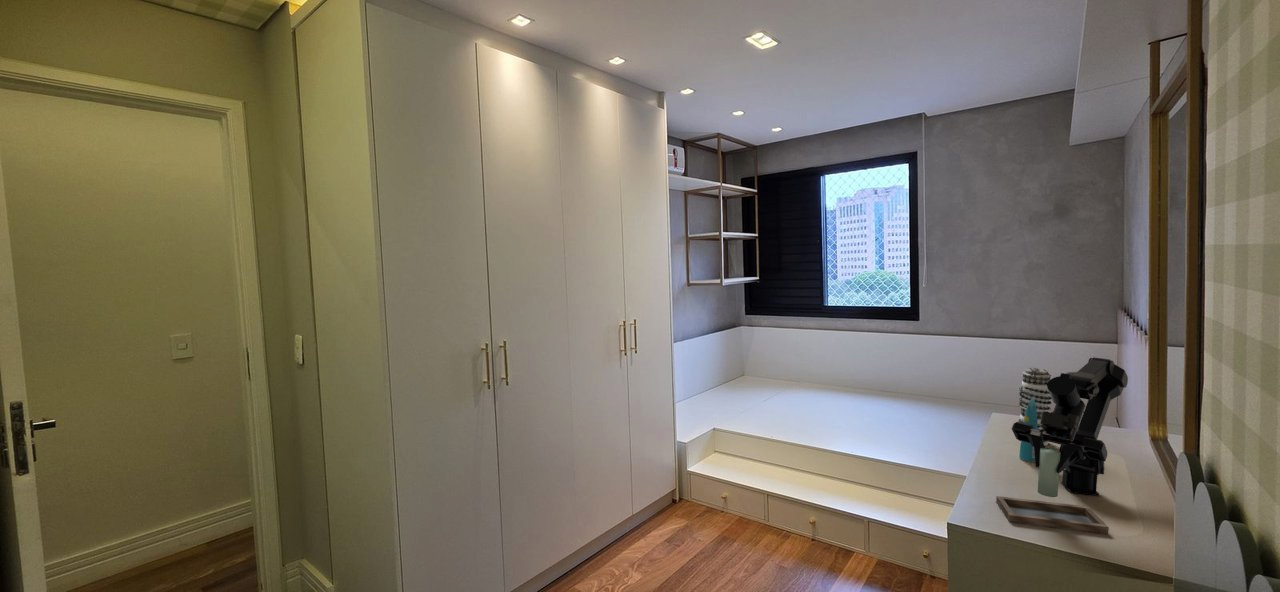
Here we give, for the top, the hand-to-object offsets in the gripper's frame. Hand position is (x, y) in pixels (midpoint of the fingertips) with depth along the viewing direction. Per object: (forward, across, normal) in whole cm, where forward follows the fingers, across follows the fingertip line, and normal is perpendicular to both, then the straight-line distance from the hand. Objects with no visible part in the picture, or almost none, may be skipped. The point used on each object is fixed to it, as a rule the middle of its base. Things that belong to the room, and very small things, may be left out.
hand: (1047, 469), depth 134 cm
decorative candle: (-31, -22, +49) cm, 62 cm away
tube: (-18, -17, +36) cm, 44 cm away
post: (+4, 0, +6) cm, 7 cm away
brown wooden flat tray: (+8, +1, +10) cm, 13 cm away
